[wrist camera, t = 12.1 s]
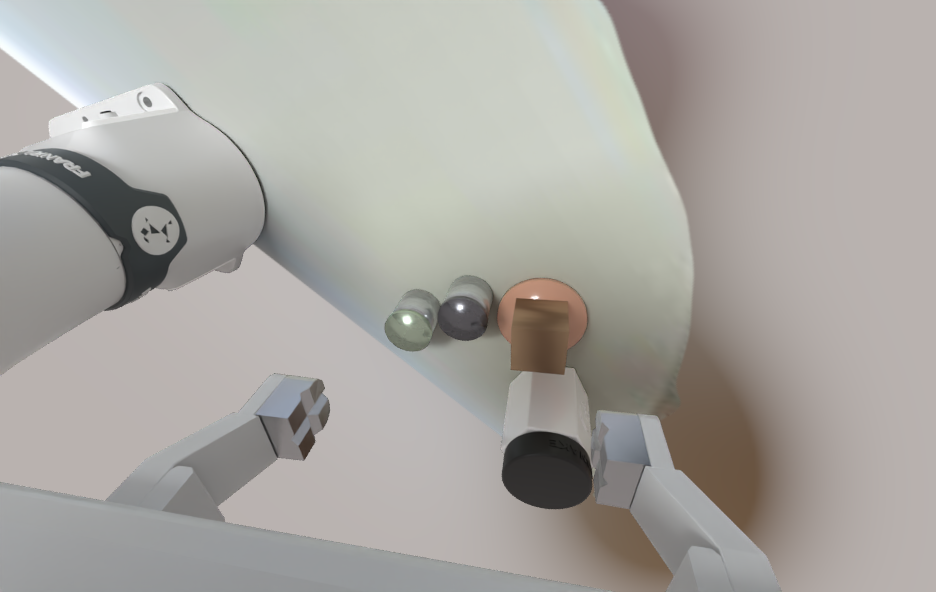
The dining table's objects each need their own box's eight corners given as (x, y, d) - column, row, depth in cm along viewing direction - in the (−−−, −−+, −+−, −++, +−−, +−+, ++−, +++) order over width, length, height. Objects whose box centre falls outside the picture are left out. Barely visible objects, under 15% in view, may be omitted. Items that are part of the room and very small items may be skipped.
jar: (596, 408, 46) (607, 508, 36) (530, 421, 49) (524, 516, 39) (568, 351, 42) (572, 444, 32) (500, 369, 46) (484, 458, 36)
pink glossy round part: (498, 346, 44) (497, 351, 43) (497, 275, 39) (496, 279, 38) (581, 353, 42) (582, 358, 42) (591, 280, 38) (592, 284, 37)
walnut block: (515, 337, 42) (510, 369, 38) (516, 297, 39) (511, 327, 35) (563, 341, 41) (564, 374, 37) (567, 301, 38) (569, 331, 34)
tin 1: (402, 323, 45) (388, 349, 41) (396, 287, 42) (381, 310, 38) (443, 326, 44) (433, 353, 40) (440, 289, 41) (428, 314, 38)
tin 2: (449, 311, 43) (439, 338, 39) (446, 273, 40) (435, 297, 36) (493, 315, 42) (487, 342, 38) (493, 276, 39) (487, 301, 35)
